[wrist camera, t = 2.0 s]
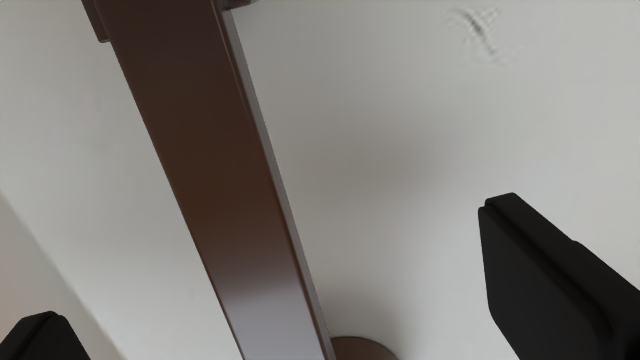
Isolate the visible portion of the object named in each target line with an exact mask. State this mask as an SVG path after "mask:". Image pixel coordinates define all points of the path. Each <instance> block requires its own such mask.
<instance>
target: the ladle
mask: <svg viewBox="0 0 640 360" xmlns="http://www.w3.org/2000/svg"><path fill="white" fill-rule="evenodd" d="M81 1H82V4H83V6H84V8H85V11H86V13H87V15H88V18H89V20H90V22H91V25H92V27H93V29H94V32H95V34H96V36H97V39H98V41H99V42H100V43H106V42H109V41H110V42H111V45H112V47H113V50H114V52H115V54H116V57H117V59H118V62H119V64H120V66H121V69H122V71H123V74H124V76H125V78H126V81H127V83H128V86H129V88H130V90H131V93H132V95H133V97H134V100H135V102H136V105H137V107H138V109H139V112H140V114H141V117H142V119H143V121H144V124H145V126H146V129H147V131H148V133H149V136H150V138H151V141H152V143H153V145H154V148H155V150H156V153H157V155H158V157H159V160H160V162H161V164H162V167H163V169H164V172H165V174H166V176H167V179H168V181H169V184H170V186H171V188H172V191H173V193H174V196H175V198H176V200H177V203H178V205H179V208H180V210H181V212H182V215H183V217H184V220H185V222H186V224H187V227H188V229H189V232H190V234H191V236H192V239H193V241H194V243H195V246H196V248H197V251H198V253H199V255H200V258H201V260H202V263H203V265H204V267H205V270H206V272H207V275H208V277H209V279H210V282H211V284H212V287H213V289H214V291H215V294H216V296H217V299H218V301H219V303H220V306H221V308H222V310H223V313H224V315H225V318H226V320H227V322H228V325H229V327H230V330H231V332H232V334H233V337H234V339H235V342H236V344H237V346H238V349H239V351H240V354H241V356H242V358H243V360H397V358H396V357H395V356H394V355H393V354H392V353H391V352H390V351H389V350H387V349H386V348H385V347H383V346H381V345H379V344H377V343H375V342H372V341H369V340H365V339H361V338H349V337H344V338H334V339H330V337H329V334H328V330H327V327H326V324H325V320H324V317H323V314H322V311H321V307H320V304H319V301H318V297H317V294H316V291H315V287H314V284H313V281H312V277H311V274H310V271H309V268H308V264H307V261H306V258H305V254H304V251H303V248H302V244H301V241H300V238H299V235H298V231H297V228H296V225H295V221H294V218H293V215H292V211H291V208H290V205H289V201H288V198H287V195H286V192H285V188H284V185H283V182H282V178H281V175H280V172H279V168H278V165H277V162H276V158H275V155H274V152H273V149H272V145H271V142H270V139H269V135H268V132H267V129H266V125H265V122H264V119H263V115H262V112H261V109H260V106H259V102H258V99H257V96H256V92H255V89H254V86H253V82H252V79H251V76H250V72H249V69H248V66H247V63H246V59H245V56H244V53H243V49H242V46H241V43H240V39H239V36H238V33H237V30H236V26H235V23H234V20H233V16H232V13H231V9H234V8H238V7H242V6H246V5H249V4H252V3H254V2H257V1H259V0H81Z"/></svg>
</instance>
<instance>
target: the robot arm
mask: <svg viewBox="0 0 640 360" xmlns="http://www.w3.org/2000/svg"><path fill="white" fill-rule="evenodd" d="M478 219H479V228H480V237H481V246H482V254H483V263H484V272H485V281H486V290H487V299H488V306H489V310H490V313H491V316H492V318H493V320H494V322H495V323H496V325H497V326H498V328H499V329H500V331H501V332H502V334H503V335H504V337H505V338H506V340H507V341H508V343H509V344H510V346H511V347H512V349H513V350H514V352H515V353H516V355H517V356H518V358H519V359H520V360H640V291H639V290H638V289H637V288H636V287H634V286H633V285H632V284H631V283H629V282H628V281H627V280H626V279H624V278H623V277H622V276H621V275H619V274H618V273H617V272H616V271H614V270H613V269H612V268H611V267H610V266H608V265H607V264H606V263H605V262H603V261H602V260H601V259H600V258H598V257H597V256H596V255H595V254H593V253H592V252H591V251H590V250H588V249H587V248H586V247H585V246H584V245H582V244H581V243H579V242H577V241H573V240H571V239H570V238H569V237H568V236H567V235H565V234H564V233H563V232H562V231H560V230H559V229H558V228H557V227H556V226H554V225H553V224H552V223H551V222H549V221H548V220H547V219H546V218H545V217H543V216H542V215H541V214H540V213H539V212H537V211H536V210H535V209H534V208H532V207H531V206H530V205H529V204H528V203H526V202H525V201H524V200H523V199H521V198H520V197H519V196H518V195H517V194H515V193H513V192H512V193H507V194H503V195H499V196H495V197H492V198H488V199H486V200H485V206H483V207H479V209H478ZM0 360H91V359H90V358H89V356H88V354H87V353H86V351H85V349H84V347H83V346H82V345H81V342H80V341H79V339H78V337H77V336H76V334H75V332H74V331H73V329H72V327H71V325H70V324H69V322H68V320H67V319H66V318H65V317H64V316H62V315H58V314H57V313H55V312H53V311H47V312H43V313H39V314H35V315H31V316H28V317H24V318H22V319H21V320H20V321H18V323H17V324H16V325H15V327H14V328H13V329H12V330H11V331H10V332H9V334H8V335H7V336H6V337H5V339H4V340H3V341H2V342H1V344H0Z"/></svg>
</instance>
